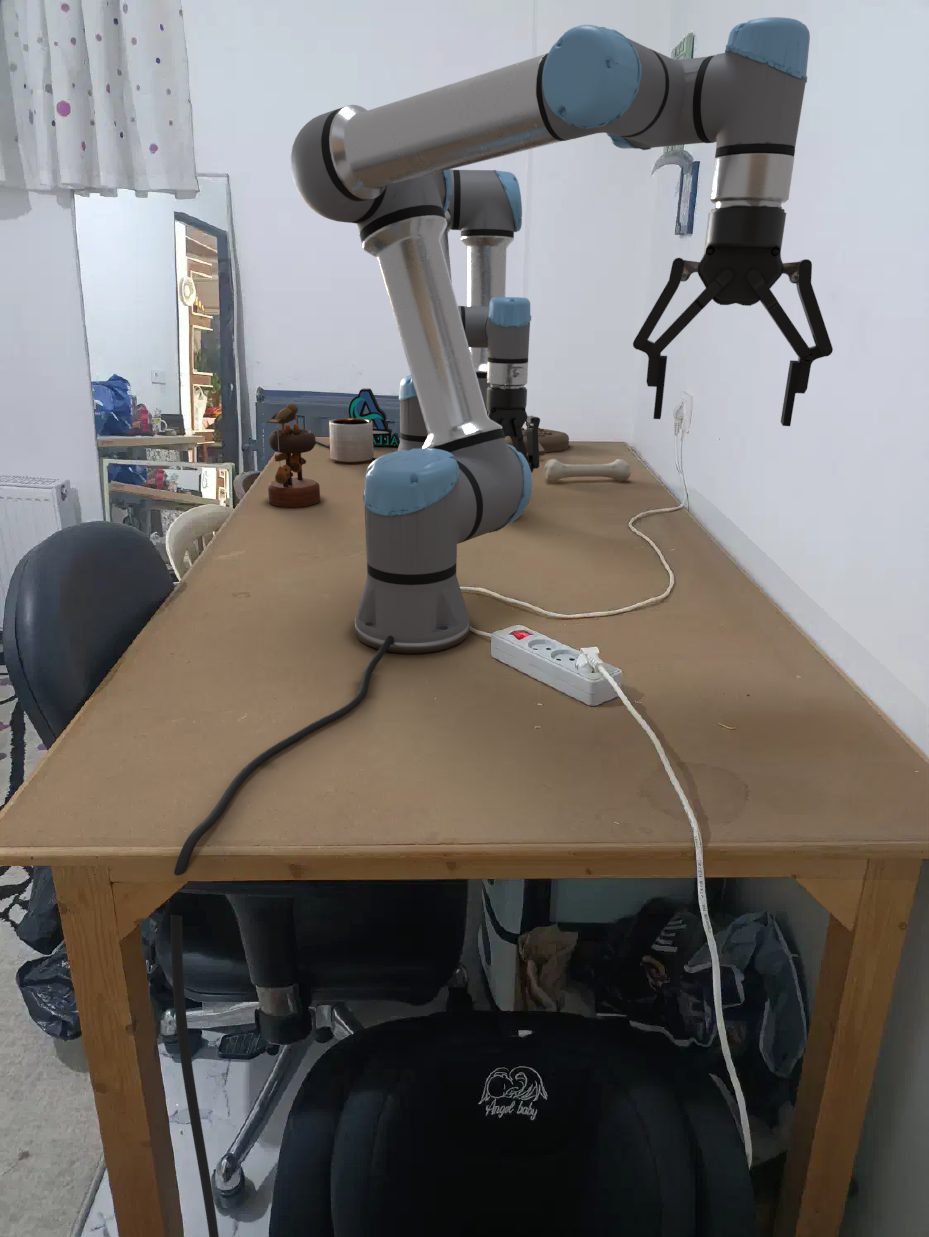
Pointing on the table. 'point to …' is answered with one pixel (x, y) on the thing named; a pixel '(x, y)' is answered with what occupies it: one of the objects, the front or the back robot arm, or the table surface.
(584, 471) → the dog toy
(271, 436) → the music box
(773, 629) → the table surface
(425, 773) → the table surface
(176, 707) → the table surface
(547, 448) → the ice cream bar
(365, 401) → the decorative sign
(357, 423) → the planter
